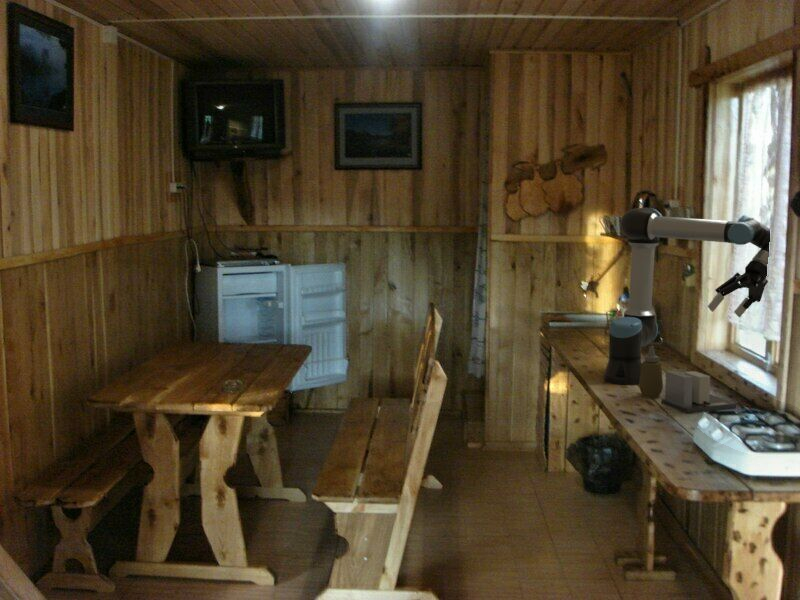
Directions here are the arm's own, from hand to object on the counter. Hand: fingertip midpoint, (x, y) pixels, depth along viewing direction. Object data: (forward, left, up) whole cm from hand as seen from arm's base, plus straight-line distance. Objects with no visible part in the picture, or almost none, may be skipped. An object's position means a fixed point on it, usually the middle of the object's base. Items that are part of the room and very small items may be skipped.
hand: (723, 311), depth 281 cm
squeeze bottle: (-8, -23, -30) cm, 38 cm away
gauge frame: (+8, -15, -30) cm, 34 cm away
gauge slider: (+9, -18, -28) cm, 34 cm away
